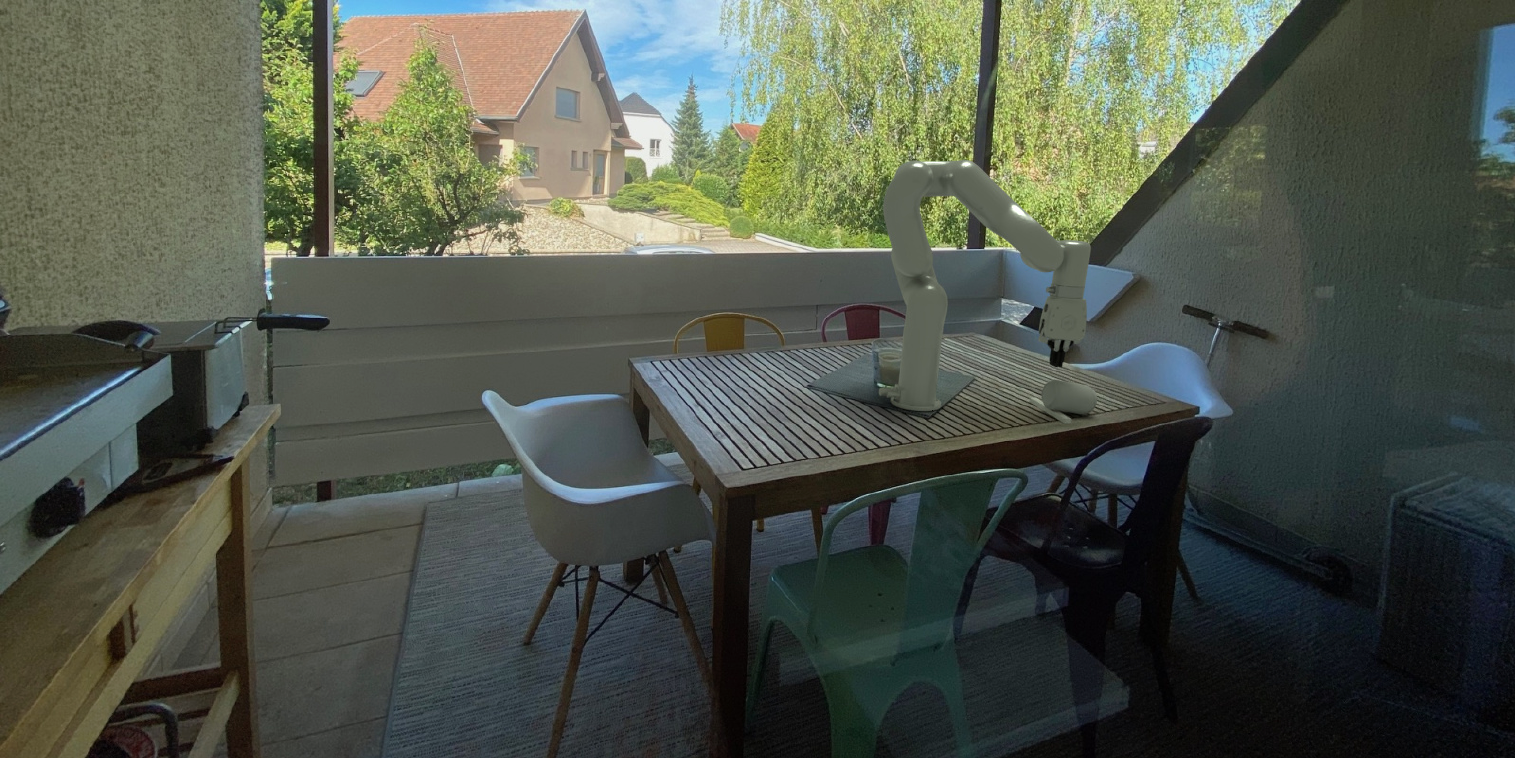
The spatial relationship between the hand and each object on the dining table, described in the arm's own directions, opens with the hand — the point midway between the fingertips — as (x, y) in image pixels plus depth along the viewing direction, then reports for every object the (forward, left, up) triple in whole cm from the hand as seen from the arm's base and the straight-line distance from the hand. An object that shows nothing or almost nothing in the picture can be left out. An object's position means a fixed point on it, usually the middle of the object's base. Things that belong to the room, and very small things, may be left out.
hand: (1055, 365), depth 191 cm
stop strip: (+1, +1, -12) cm, 12 cm away
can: (-2, -1, -7) cm, 7 cm away
